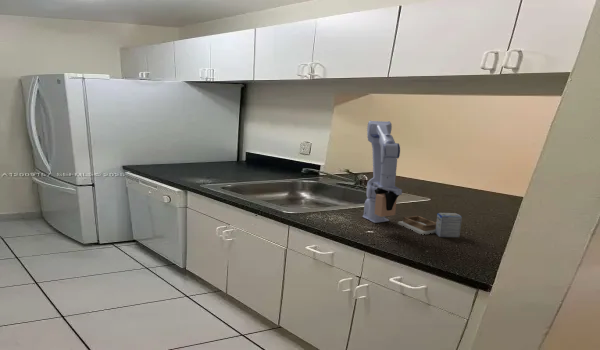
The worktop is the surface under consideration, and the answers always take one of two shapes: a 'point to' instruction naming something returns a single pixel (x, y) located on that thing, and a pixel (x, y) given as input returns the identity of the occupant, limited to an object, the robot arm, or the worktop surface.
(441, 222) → the medicine box
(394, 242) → the worktop surface
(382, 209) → the key block
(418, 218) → the cradle
